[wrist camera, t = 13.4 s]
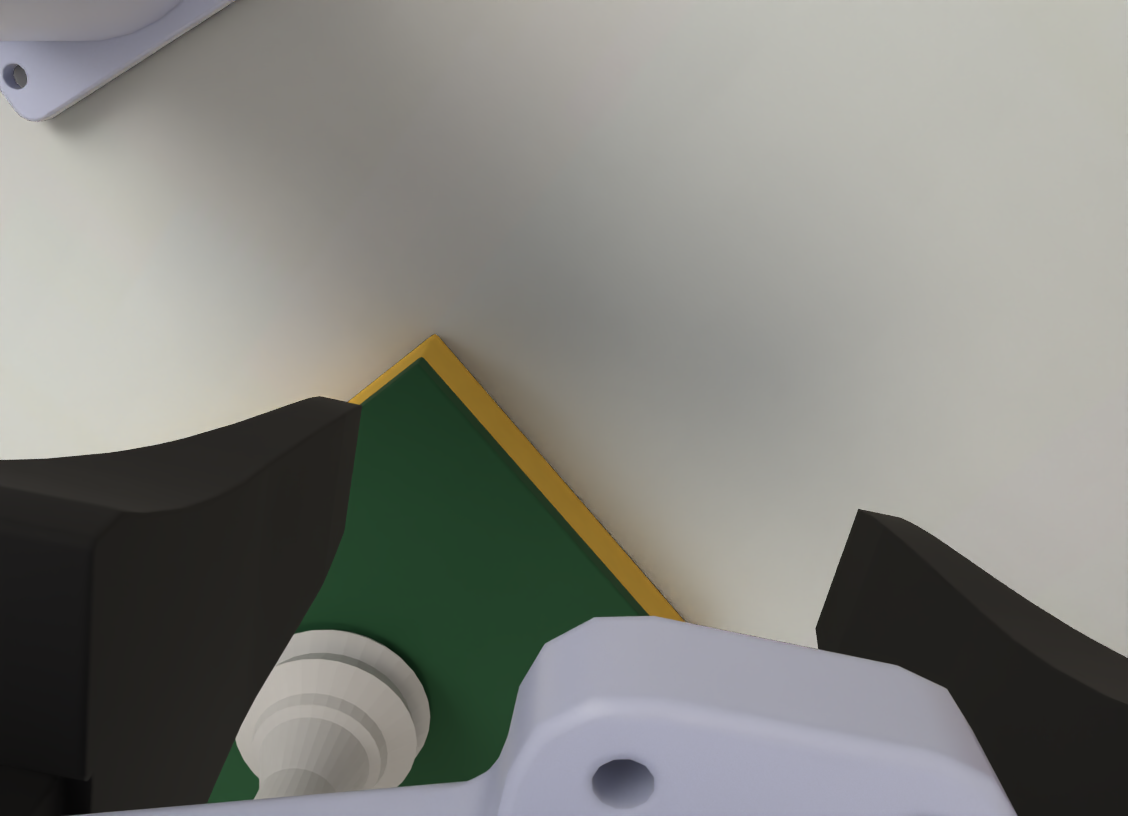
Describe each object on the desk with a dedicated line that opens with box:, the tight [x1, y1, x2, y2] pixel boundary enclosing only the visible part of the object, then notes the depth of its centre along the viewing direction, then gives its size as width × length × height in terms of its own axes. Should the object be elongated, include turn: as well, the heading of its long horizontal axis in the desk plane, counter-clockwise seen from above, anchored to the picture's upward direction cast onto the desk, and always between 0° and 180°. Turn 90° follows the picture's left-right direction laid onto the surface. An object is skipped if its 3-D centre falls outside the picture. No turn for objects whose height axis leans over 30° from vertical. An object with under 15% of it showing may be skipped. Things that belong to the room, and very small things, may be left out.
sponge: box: [207, 334, 685, 804], centre depth 25 cm, size 11×15×2 cm
